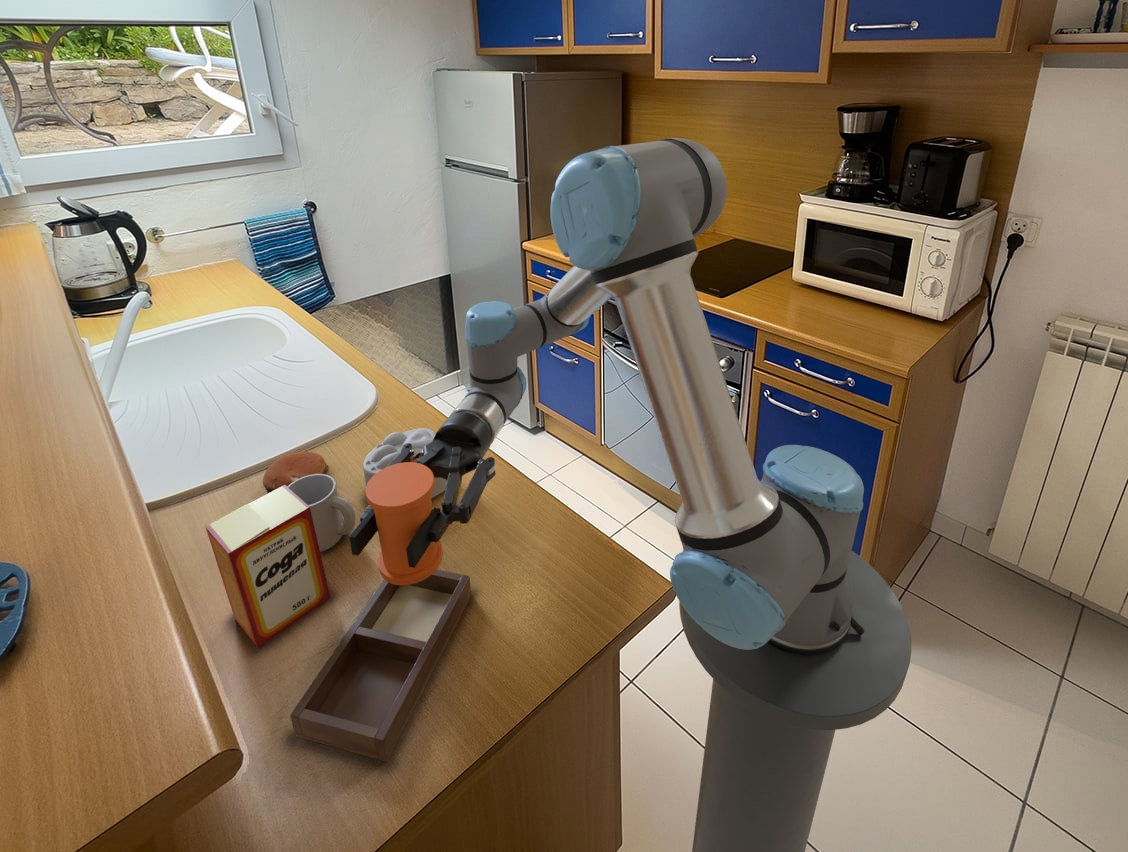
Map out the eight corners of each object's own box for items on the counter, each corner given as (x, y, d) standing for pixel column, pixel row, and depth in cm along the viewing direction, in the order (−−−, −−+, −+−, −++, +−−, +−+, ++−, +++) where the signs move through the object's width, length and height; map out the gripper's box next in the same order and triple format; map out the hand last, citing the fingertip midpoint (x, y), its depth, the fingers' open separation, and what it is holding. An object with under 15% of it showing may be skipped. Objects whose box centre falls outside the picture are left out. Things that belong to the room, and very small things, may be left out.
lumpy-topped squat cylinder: (457, 485, 102) (453, 443, 98) (383, 522, 93) (376, 478, 90) (429, 455, 109) (424, 415, 105) (357, 488, 101) (350, 446, 97)
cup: (310, 517, 94) (300, 471, 91) (370, 523, 93) (362, 477, 90) (282, 553, 88) (270, 505, 84) (347, 559, 87) (337, 512, 83)
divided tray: (471, 595, 81) (469, 575, 80) (387, 762, 63) (382, 740, 61) (398, 580, 84) (395, 560, 82) (295, 736, 65) (289, 715, 63)
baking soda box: (306, 572, 85) (284, 482, 78) (330, 597, 81) (309, 504, 75) (234, 618, 78) (204, 524, 72) (257, 648, 74) (227, 550, 68)
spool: (453, 542, 77) (445, 467, 72) (424, 591, 70) (413, 512, 65) (400, 531, 78) (388, 457, 74) (366, 578, 71) (351, 500, 67)
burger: (314, 459, 107) (310, 438, 105) (339, 483, 102) (335, 461, 100) (256, 487, 100) (250, 465, 99) (279, 515, 95) (273, 492, 93)
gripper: (532, 462, 87) (464, 593, 67) (412, 442, 91) (312, 560, 70) (530, 419, 84) (458, 542, 64) (406, 401, 88) (300, 511, 68)
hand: (381, 552), depth 67 cm, fingers closed on spool, 6 cm apart
